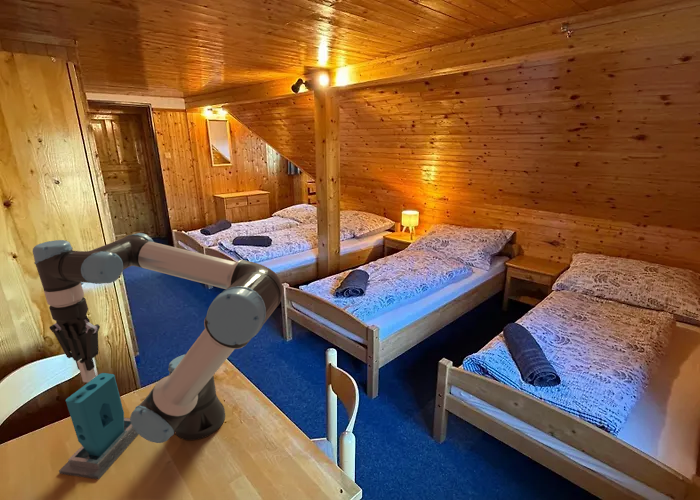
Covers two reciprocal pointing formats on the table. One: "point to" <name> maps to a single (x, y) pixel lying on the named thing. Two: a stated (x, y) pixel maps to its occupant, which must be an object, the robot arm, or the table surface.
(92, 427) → the block
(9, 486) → the table surface
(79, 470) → the grey rectangular tray
